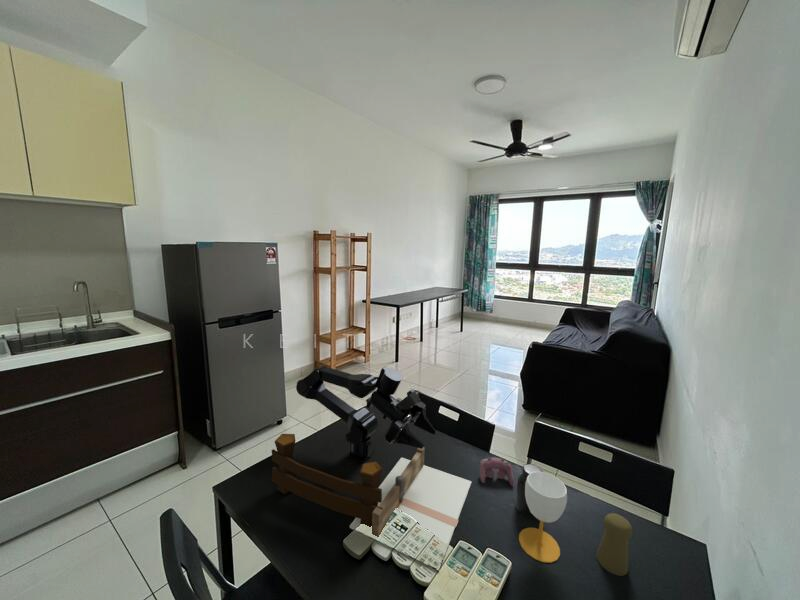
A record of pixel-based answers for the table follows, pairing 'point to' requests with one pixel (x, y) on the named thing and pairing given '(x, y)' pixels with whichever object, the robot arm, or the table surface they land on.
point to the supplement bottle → (520, 496)
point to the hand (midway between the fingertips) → (429, 439)
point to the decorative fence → (327, 483)
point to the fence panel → (413, 469)
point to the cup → (543, 515)
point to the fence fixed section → (387, 506)
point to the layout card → (429, 499)
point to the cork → (615, 544)
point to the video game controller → (496, 463)
